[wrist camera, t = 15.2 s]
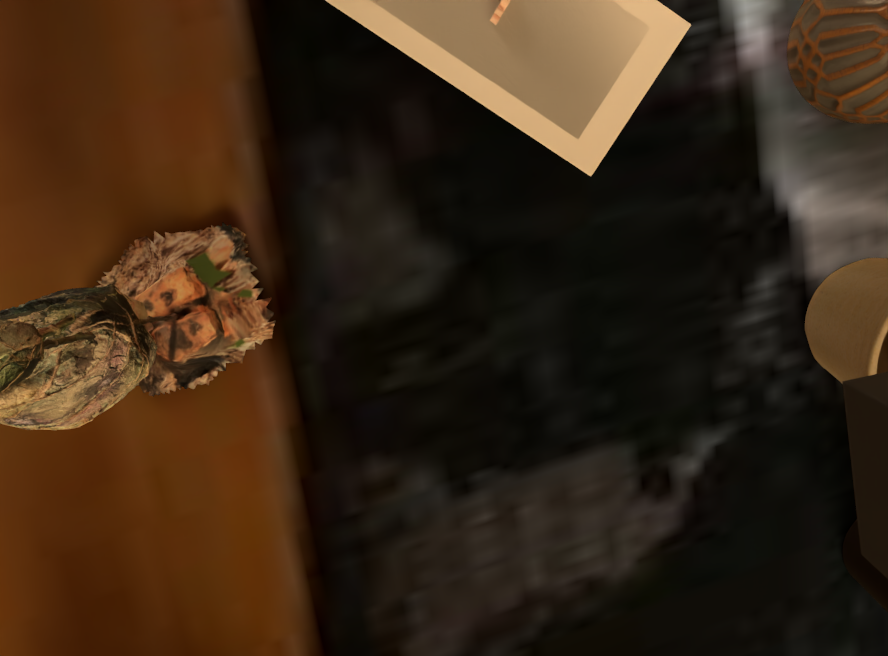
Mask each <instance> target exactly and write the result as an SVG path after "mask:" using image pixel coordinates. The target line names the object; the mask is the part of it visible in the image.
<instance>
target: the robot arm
mask: <svg viewBox="0 0 888 656" xmlns="http://www.w3.org/2000/svg"><path fill="white" fill-rule="evenodd" d="M842 383H843V392H844V401H845V410H846V420H847V429H848V438H849V447H850V457H851V466H852V475H853V484H854V493H855V503H856V512H857V521H858V530H859V539H860V549H861V555H863V556H864V557H865V558H866V559H867V560H868V561H869V562H870V563H871V564H872V565H873V566H874V567H875V568H876V569H878V570H879V571H880V572H881V573H882V574H883V575H884V576H885V577H886V578H887V579H888V372H884V373H879V374H874V375H870V376H865V377H860V378H856V379H851V380H847V381H842Z"/></svg>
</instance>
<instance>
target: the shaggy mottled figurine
mask: <svg viewBox="0 0 888 656" xmlns="http://www.w3.org/2000/svg"><path fill="white" fill-rule="evenodd" d="M245 236H246V234H245V233H243V232H242V231H240V230H239V229H237V228H236V227H235V228H232V226H231V224H230V225H228V226H226V225H225V224H224V223H222V226H218V225H217V226H216V227H215V228H214V227H213V226H212V225H211V228H209V227H207V228H206V229H205V230H197V231H195V232H193V231H187V232H178V233H173V234H170V233H167V232H165V237H166V239H165V238H163V237H162V236H161V235H159V234H158V233H157V232H156V231H154V243H153V242H152V241H151V240H150V239H149V238H148V237H147V236H145V237H141V238H138V239H136V240H134V241H135V247H136V248H135V247H134V246H132V245H131V244H130V247H129V246H128V247H129V250H124V254H123V255H122V256H121V259H122V261H120V260H118V261H119V262H120V264H121V265H115V266H113V269H112V271H111V272H103V273H104V274H106V275H107V276H105V277H102V281H97V282H98V283H100V284H101V285H100V286H94V288H76V289H68V290H62V291H57V292H55V293H51V294H50V295H47V296H42V297H41V298H39V299H36V300H32V301H29V302H27V303H25V304H22V305H19V307H17V308H16V307H12V308H10V309H5V310H1V311H0V423H1V424H4V425H8V426H13V427H17V428H20V429H27V430H33V429H35V430H40V429H43V430H47V429H48V430H59V429H60V430H62V429H73V428H77V427H81V425H83V424H86V423H87V422H90V421H92V420H93V419H94V418H95V417H96V416H97V415H99V414H101V413H103V412H104V411H106V410H107V409H109V408H111V407H112V406H113V405H114V404H116V403H117V402H119V401H120V400H122V399H123V398H124V397H125V396H126V395H127V393H128V392H129V391H131V390H132V389H133V388H134V387H135V386H137V385H138V386H140V387H141V389H142V391H143V392H149V395H151V396H153V397H154V395H155V394H156V395H160V392H162V393H163V394H164V395H165V392H167V393H169V394H170V391H169V389H170V390H173V391H175V390H176V387H177V388H178V389H180V390H181V387H182V386H183V387H184V388H185V389H187V388H188V387H189V388H191V389H194V388H195V387H196V385H197V384H200V385H203V384H205V383H206V384H207V385H208V386H209V381H210V380H214V379H213V377H212V376H217V373H218V371H226V363H242V361H243V358H244V354H245V351H246V349H255V342H257V343H258V344H260V345H261V344H262V342H263V340H264V339H270V338H272V333H273V327H274V325H275V322H276V320H275V321H272V322H268V320H269V319H270V318H271V317H272V316H273V315H274V314H275V313H273V312H272V311H270V310H269V309H267V308H266V306H267V305H268V303H269V302H270V300H271V299H272V298H267V299H262V300H257V301H255V300H256V299H257V297H258V296H259V294H260V293H261V291H262V290H263V288H257V289H252V288H253V287H254V286H255V285H256V284H257V283H258V282H259V281H258V280H257V279H256V278H255V277H254V276H253V275H252V274H251V273H250V272H252V271H255V270H257V269H258V268H256V267H255V266H254V265H252V264H251V263H250V262H251V258H249V257H244V256H245V255H246V254H247V253H248V251H242V250H243V249H245V248H247V247H248V246H249V245H247V244H246V243H244V242H243V241H244V239H245ZM267 322H268V323H267ZM254 341H255V342H254Z"/></svg>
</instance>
